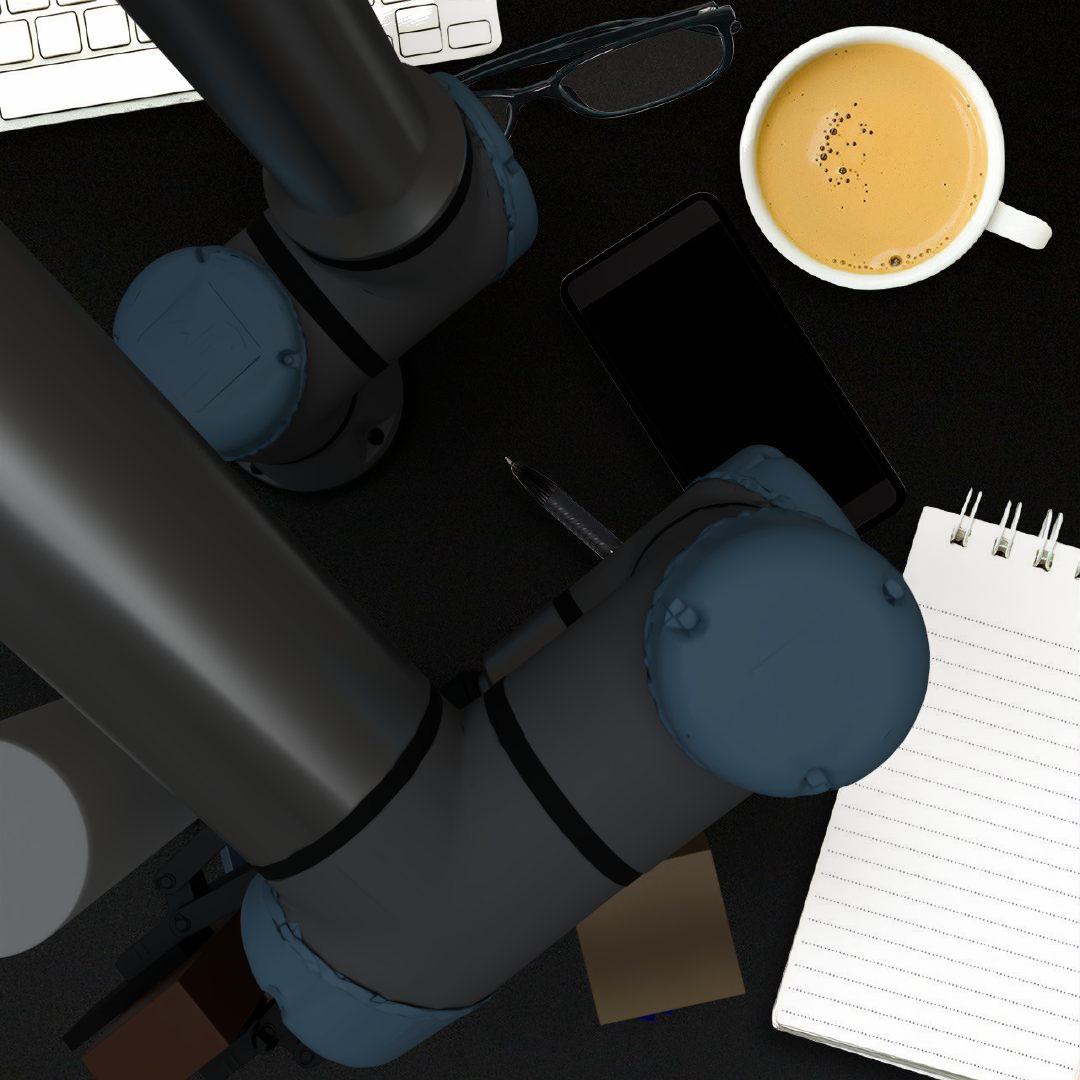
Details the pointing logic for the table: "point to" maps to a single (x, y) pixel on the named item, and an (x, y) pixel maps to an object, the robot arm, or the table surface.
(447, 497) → the table surface
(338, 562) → the table surface
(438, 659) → the table surface
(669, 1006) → the stand
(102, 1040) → the chocolate box
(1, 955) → the cylinder
